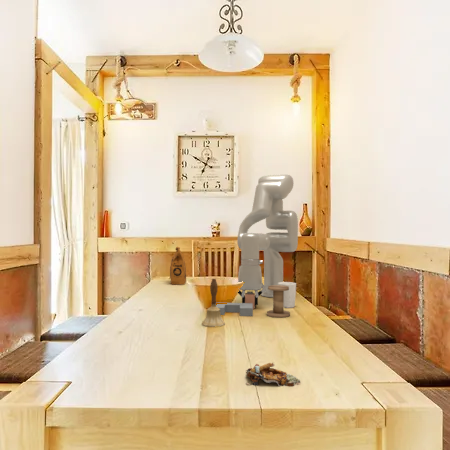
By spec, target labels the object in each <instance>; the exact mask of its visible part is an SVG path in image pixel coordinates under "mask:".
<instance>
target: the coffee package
mask: <svg viewBox="0 0 450 450" xmlns="http://www.w3.org/2000/svg"><path fill="white" fill-rule="evenodd" d="M169 266H170V267H169V278H170V279H169V280H170V282H171V283H170V284H172V285H173V286H174V285H175V286H176V285H177V286H179V285H182V286H183V285H185V284H186V282H187V269H186V268H187V267H186V262H185V259H184V254H183V253H182V251H181V247H179V246H176V247H175V252H174V254H173V256H172V257H171V261H170V265H169Z"/></svg>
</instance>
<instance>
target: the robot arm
mask: <svg viewBox="0 0 450 450" xmlns="http://www.w3.org/2000/svg"><path fill="white" fill-rule="evenodd" d="M293 188H294V178H293V177H292V175H290V174H276V175H275V174H273V175H271V174H270V175H263V176H261V177H259V178H258V183H257V185H256V188H255V192H254V197H253V202H252V209H251V211H250V212H249V213H248V214H247V215H246V216H245V218H244V219H243V220H242V221H241V223H240V224H239V227H238V228H239V229H238V231H237V233H238V234H237V238H236V239H237V247H238V249H240V251H241V252H240V253H241V256H240V262H241V263H240V265H239V267H238V268H239V269H238V272H237V273H238V274H237V275H238V277H237V283H238V282H242V281H243V282H245V283H244V284H243V286H242V287H241V288H240V289H239V292H238V295H239V296H240V297H241V303H245V293H246V291H254V293H255V308H257V306H258V305H259V297H260V296H262V297H265V298H273V290H269V289H268V286H271V285H278V283H279V282H284V259H283V257H282V256H281V254H280V252H281V253H293V252H295V251H296V250H297V249H298V245H299V244H298V241H299V236H298V235H299V233H298V232H299V218H298V215H297V213H296V211H293V210H284V202H283V200H285V199H286V198H287V197H288V196H289V195H290V193H291V192H292V191H293ZM263 220H265V226H266V228H267V229H269V230H276V231H277V230H279V231H278V232H276V231H275V232H266V233H262V232H261V233H253V232H249V230H250V228H251V227H252V226H254V225H255V224H257V223H259V222H261V221H263ZM280 230H281V231H282V230H283V231H285V230H286V231H287V232H280ZM260 251H262V252H263V260H261V259H260ZM261 264H263V274H262V266H260V265H261Z"/></svg>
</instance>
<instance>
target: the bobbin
mask: <svg viewBox="0 0 450 450" xmlns="http://www.w3.org/2000/svg"><path fill="white" fill-rule="evenodd" d="M268 289H269V290H273V297H272V300H273V301H272V305H273V307H272V310H267V311H266V316H268V317H271V318H280V319H281V318H283V319H284V318H289V317H290V316H291V312H290V311H288V310H285V308H284V291H287V290H289V287H288V286H283V285H271V286H268Z"/></svg>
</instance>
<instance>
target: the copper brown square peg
mask: <svg viewBox="0 0 450 450" xmlns="http://www.w3.org/2000/svg"><path fill="white" fill-rule="evenodd" d="M246 291H247V292H245V303H252V304H253V310H255V309H256V307H255V292H254V291H252V290H246Z"/></svg>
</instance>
